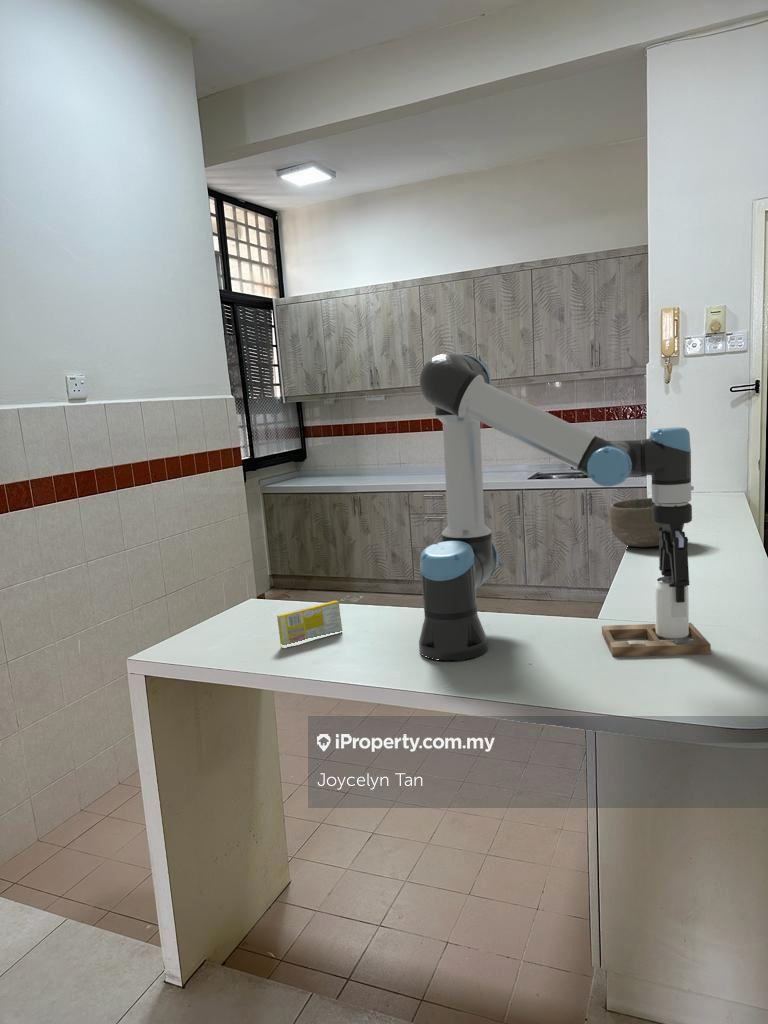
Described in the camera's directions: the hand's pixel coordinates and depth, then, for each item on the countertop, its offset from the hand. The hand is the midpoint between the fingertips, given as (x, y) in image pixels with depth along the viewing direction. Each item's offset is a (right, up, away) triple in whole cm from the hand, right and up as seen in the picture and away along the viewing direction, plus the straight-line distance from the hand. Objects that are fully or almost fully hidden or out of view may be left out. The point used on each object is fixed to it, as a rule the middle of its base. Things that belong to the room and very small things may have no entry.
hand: (674, 611), depth 147 cm
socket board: (-4, -7, +2) cm, 8 cm away
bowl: (+30, +9, +95) cm, 100 cm away
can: (0, -5, +1) cm, 5 cm away
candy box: (-79, -11, +24) cm, 83 cm away
